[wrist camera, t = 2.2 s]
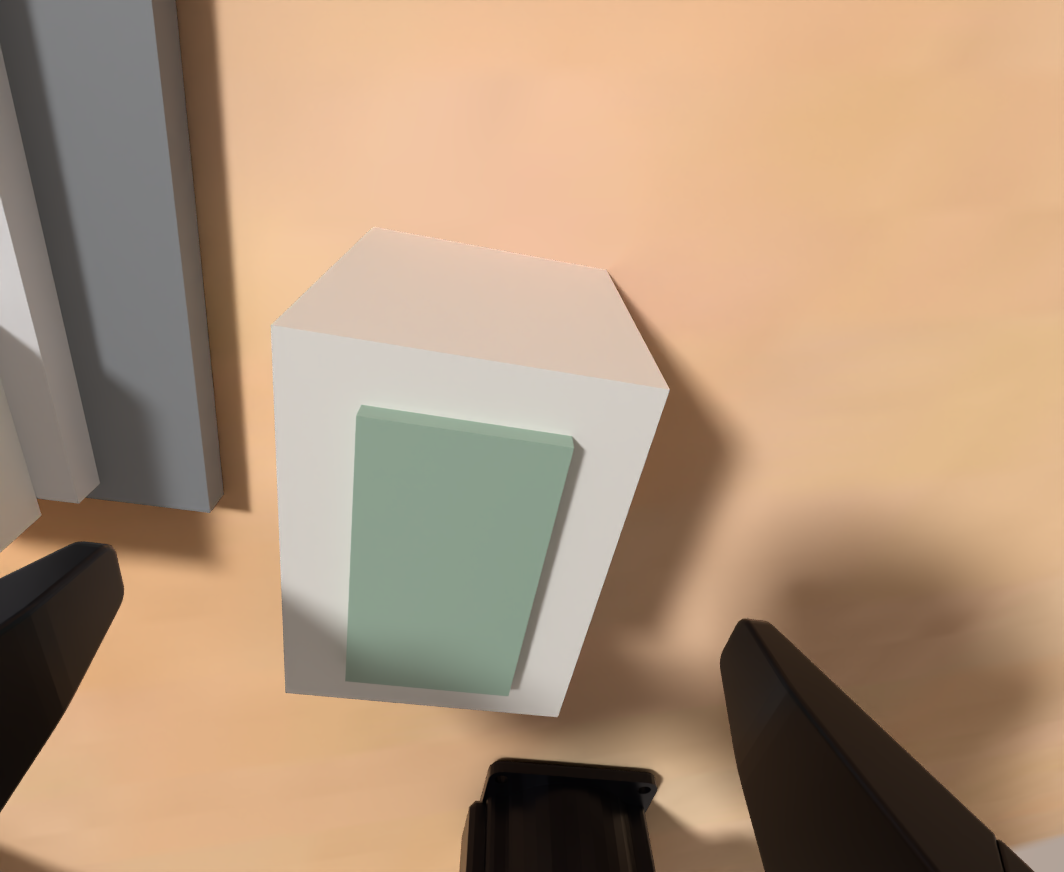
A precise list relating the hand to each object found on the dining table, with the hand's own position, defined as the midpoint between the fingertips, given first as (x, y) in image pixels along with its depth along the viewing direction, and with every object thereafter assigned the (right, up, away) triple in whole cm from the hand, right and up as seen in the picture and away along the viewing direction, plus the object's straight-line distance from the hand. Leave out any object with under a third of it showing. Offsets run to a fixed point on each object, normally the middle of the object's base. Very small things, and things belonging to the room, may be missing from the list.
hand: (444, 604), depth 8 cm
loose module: (0, +3, +6) cm, 7 cm away
